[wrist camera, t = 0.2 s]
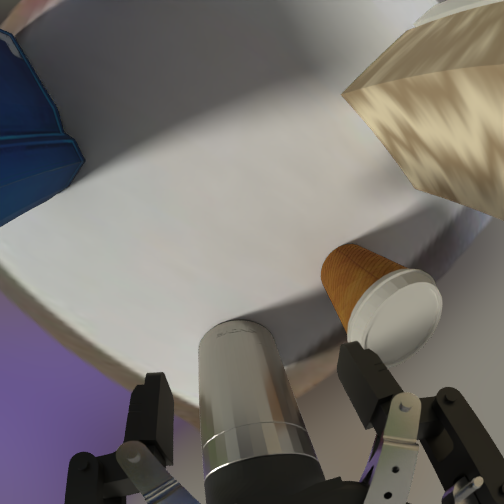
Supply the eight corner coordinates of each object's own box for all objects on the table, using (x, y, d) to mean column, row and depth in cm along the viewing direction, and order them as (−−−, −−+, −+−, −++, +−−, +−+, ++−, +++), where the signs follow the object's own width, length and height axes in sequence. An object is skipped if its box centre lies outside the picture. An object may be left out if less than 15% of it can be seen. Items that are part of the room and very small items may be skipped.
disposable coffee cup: (376, 298, 34) (432, 354, 23) (306, 313, 33) (347, 385, 22) (383, 225, 31) (455, 266, 20) (306, 234, 30) (361, 289, 19)
